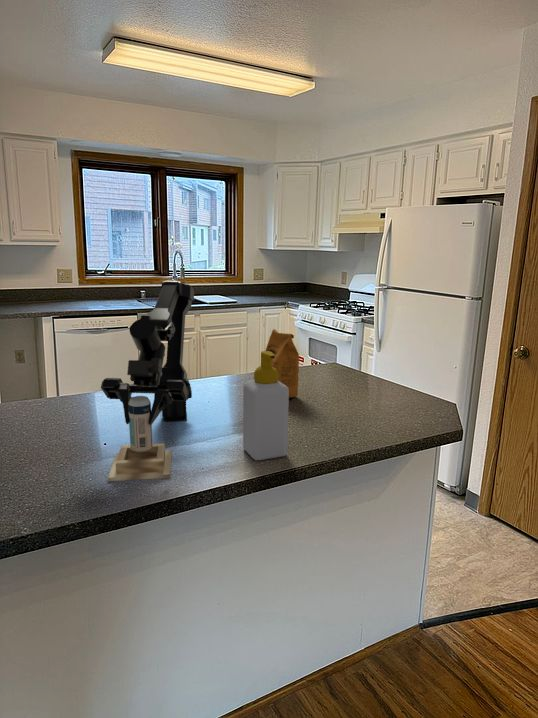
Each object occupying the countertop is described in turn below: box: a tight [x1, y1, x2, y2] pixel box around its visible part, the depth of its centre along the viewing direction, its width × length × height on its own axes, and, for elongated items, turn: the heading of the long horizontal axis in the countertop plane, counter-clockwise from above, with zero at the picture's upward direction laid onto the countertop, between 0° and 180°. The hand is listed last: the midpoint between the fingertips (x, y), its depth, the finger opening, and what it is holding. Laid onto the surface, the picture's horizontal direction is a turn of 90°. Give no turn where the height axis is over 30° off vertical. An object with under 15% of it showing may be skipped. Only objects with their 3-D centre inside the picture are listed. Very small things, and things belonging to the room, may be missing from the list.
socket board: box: [107, 442, 173, 482], centre depth 114 cm, size 13×13×3 cm
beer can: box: [128, 395, 153, 452], centre depth 112 cm, size 5×5×12 cm
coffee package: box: [265, 328, 300, 399], centre depth 167 cm, size 10×12×22 cm
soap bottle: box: [242, 350, 290, 461], centre depth 120 cm, size 9×9×25 cm
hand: (138, 423), depth 111 cm, fingers closed on beer can, 5 cm apart
